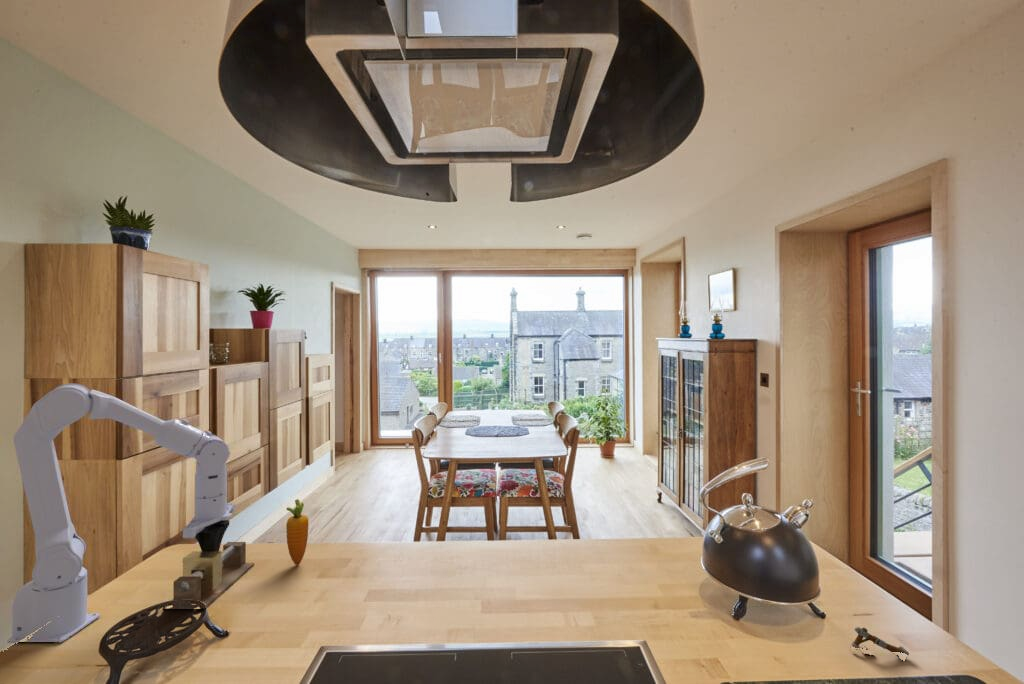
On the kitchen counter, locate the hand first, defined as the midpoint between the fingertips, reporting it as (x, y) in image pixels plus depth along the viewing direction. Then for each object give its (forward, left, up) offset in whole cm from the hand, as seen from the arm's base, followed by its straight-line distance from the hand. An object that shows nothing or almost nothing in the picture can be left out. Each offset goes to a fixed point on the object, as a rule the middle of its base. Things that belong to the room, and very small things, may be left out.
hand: (210, 558), depth 99 cm
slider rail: (0, +1, -6) cm, 6 cm away
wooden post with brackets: (+125, -23, -7) cm, 127 cm away
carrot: (+14, +10, -6) cm, 18 cm away
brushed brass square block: (0, -3, -5) cm, 5 cm away
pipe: (0, +1, -3) cm, 3 cm away
